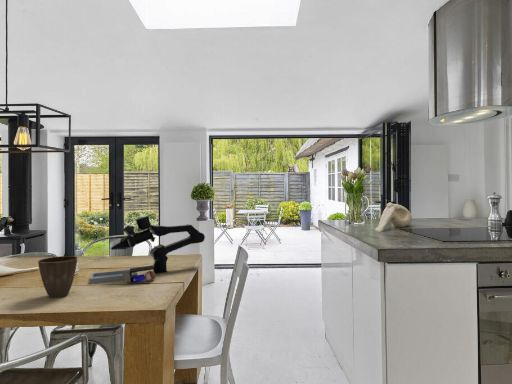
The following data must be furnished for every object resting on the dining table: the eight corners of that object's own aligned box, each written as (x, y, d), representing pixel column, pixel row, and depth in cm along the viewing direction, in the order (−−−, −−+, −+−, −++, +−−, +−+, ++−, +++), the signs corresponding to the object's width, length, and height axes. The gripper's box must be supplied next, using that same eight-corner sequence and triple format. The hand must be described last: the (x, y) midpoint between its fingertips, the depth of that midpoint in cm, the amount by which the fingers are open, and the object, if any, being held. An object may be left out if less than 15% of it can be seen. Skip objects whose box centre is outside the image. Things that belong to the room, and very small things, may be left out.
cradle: (135, 273, 186) (135, 268, 186) (137, 278, 174) (137, 273, 174) (91, 277, 177) (91, 273, 177) (90, 283, 165) (90, 279, 165)
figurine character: (124, 288, 161) (156, 281, 167) (121, 273, 161) (154, 266, 167) (123, 285, 167) (154, 278, 173) (121, 270, 167) (152, 263, 173)
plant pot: (41, 293, 151) (41, 257, 151) (79, 288, 157) (78, 254, 157) (35, 303, 137) (34, 263, 137) (76, 297, 143) (76, 260, 143)
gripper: (132, 225, 191) (104, 235, 182) (139, 221, 175) (109, 232, 167) (139, 243, 191) (111, 254, 182) (147, 241, 175) (117, 253, 167)
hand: (112, 248), depth 175 cm, fingers open, 9 cm apart
